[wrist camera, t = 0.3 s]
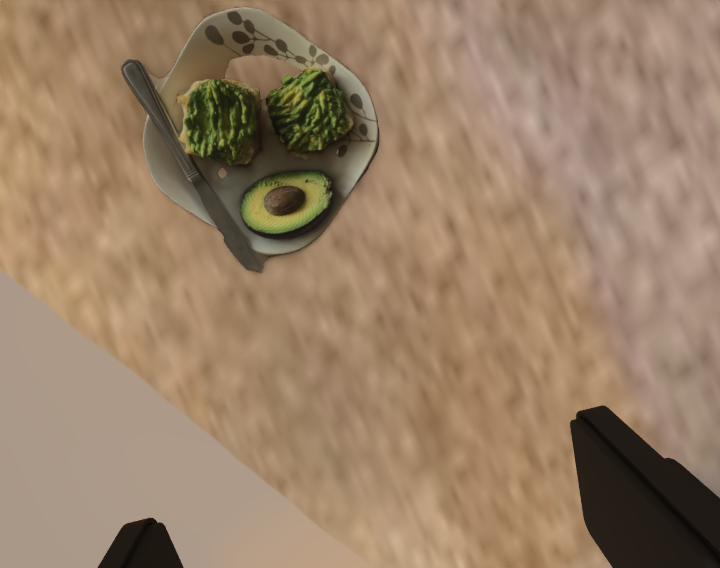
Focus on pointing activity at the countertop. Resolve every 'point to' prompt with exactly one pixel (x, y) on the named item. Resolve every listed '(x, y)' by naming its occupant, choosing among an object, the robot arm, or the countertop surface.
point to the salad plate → (256, 135)
